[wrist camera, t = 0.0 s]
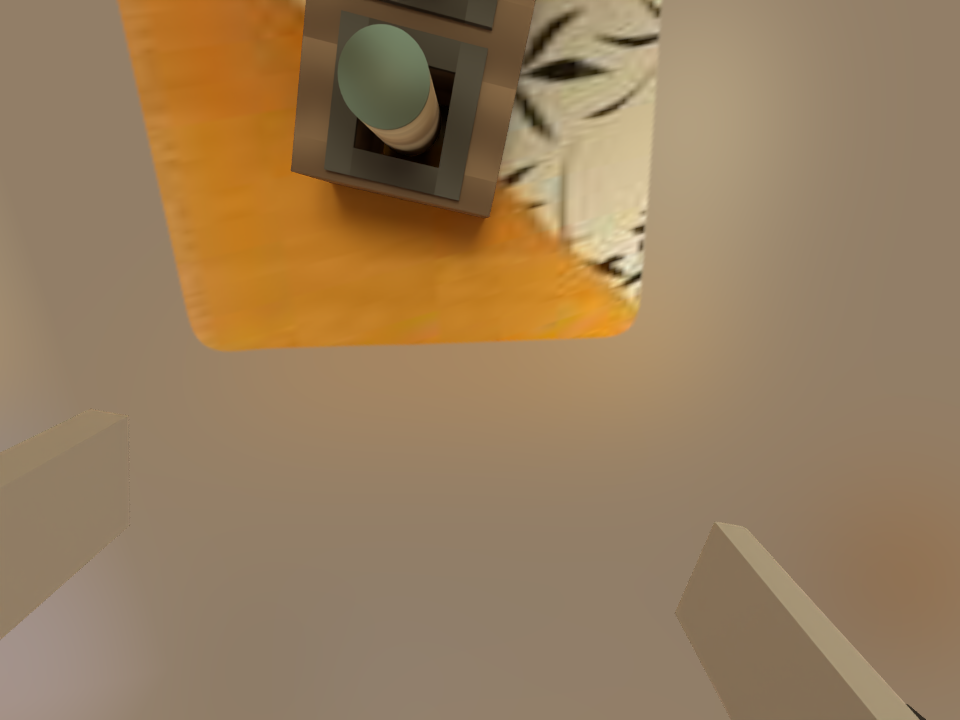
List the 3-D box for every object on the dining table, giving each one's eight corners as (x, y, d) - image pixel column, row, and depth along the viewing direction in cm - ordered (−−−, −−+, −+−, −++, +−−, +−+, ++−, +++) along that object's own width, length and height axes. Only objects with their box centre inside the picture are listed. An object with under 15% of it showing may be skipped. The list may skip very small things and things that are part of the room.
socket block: (364, -108, 29) (323, -237, 21) (543, -58, 30) (570, -162, 22) (331, 182, 34) (288, 170, 26) (485, 218, 35) (489, 216, 27)
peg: (381, 75, 27) (343, 13, 19) (447, 92, 27) (437, 37, 19) (371, 147, 28) (332, 116, 20) (434, 162, 28) (421, 138, 20)
